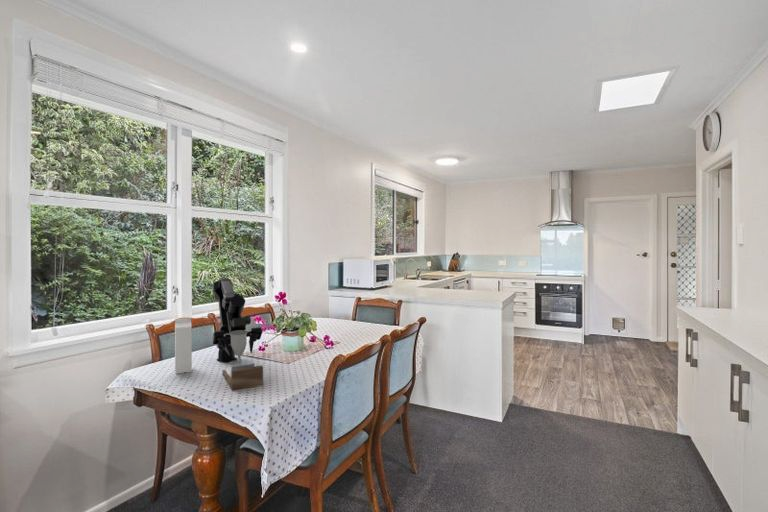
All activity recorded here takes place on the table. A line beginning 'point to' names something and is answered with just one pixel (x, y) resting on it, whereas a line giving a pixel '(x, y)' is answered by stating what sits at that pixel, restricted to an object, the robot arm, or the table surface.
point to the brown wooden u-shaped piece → (244, 377)
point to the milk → (183, 345)
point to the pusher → (242, 366)
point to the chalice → (238, 343)
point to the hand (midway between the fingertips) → (240, 353)
